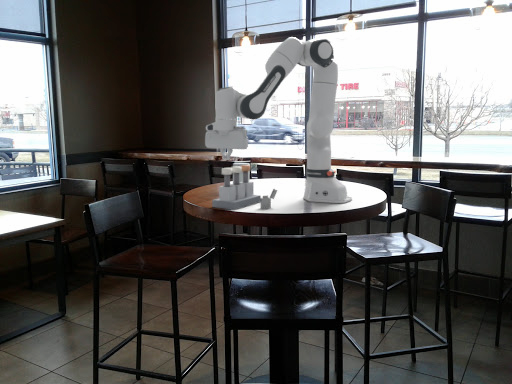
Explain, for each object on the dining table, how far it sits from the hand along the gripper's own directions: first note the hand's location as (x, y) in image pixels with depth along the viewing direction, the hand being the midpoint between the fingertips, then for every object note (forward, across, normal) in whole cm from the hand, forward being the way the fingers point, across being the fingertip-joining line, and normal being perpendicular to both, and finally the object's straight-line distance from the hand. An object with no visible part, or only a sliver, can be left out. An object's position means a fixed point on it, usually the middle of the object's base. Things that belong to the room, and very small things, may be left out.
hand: (226, 159), depth 188 cm
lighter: (+21, -16, -8) cm, 28 cm away
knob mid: (+13, 0, -7) cm, 15 cm away
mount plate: (+20, 0, -7) cm, 22 cm away
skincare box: (+21, +20, -39) cm, 49 cm away
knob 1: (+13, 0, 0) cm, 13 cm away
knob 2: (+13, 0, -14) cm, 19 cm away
